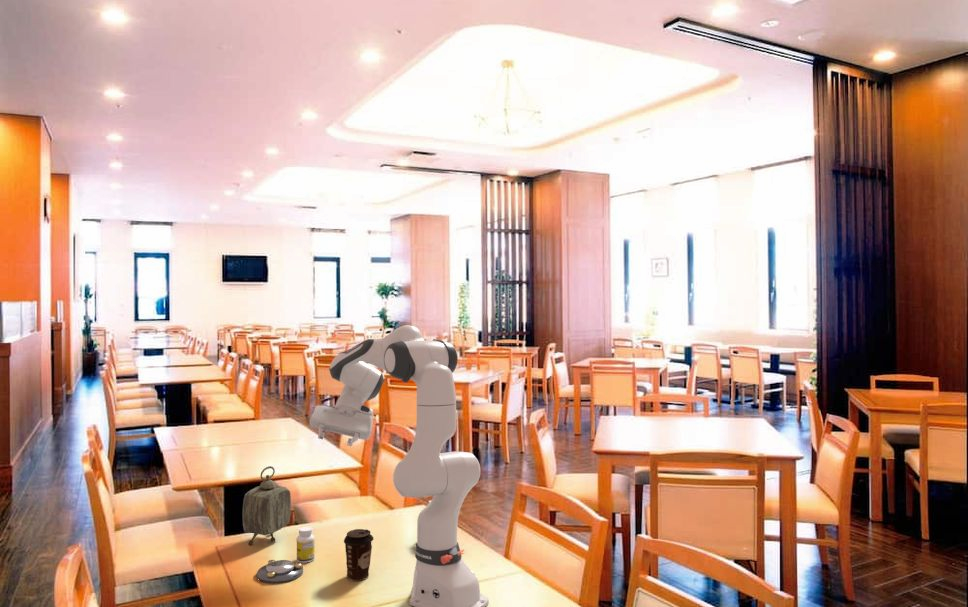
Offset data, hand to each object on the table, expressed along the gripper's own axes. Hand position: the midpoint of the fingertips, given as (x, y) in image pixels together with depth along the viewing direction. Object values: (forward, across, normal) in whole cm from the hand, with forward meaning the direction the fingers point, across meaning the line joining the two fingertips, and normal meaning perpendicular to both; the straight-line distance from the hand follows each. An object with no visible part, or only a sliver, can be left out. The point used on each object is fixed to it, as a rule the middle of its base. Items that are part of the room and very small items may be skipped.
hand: (334, 441), depth 210 cm
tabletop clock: (+14, -16, +41) cm, 46 cm away
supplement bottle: (+25, 0, +29) cm, 38 cm away
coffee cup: (+32, +19, +18) cm, 41 cm away
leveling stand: (+34, -4, +23) cm, 41 cm away
